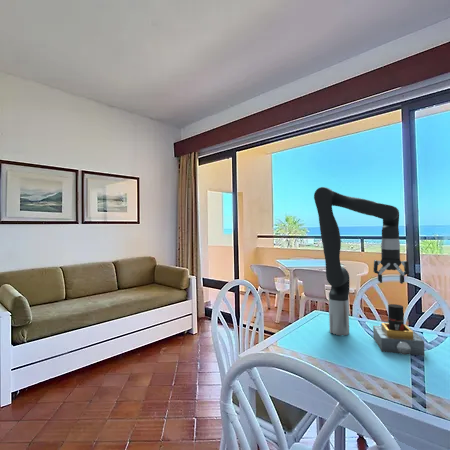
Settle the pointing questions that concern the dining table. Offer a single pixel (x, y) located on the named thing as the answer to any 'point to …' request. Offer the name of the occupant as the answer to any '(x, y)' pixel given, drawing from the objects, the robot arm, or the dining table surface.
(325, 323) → the dining table surface
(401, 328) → the deodorant
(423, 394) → the dining table surface
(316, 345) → the dining table surface
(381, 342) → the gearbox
